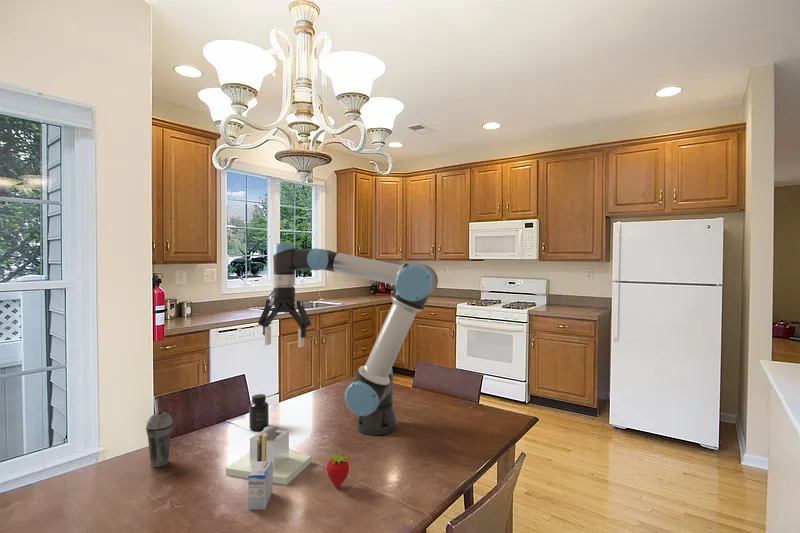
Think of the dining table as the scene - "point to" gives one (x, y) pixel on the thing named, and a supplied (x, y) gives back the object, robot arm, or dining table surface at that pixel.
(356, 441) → the dining table surface
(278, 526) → the dining table surface
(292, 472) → the shaft stand
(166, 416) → the beverage cup
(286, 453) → the keyed collar
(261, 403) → the supplement bottle
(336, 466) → the strawberry
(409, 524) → the dining table surface
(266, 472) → the medicine box
